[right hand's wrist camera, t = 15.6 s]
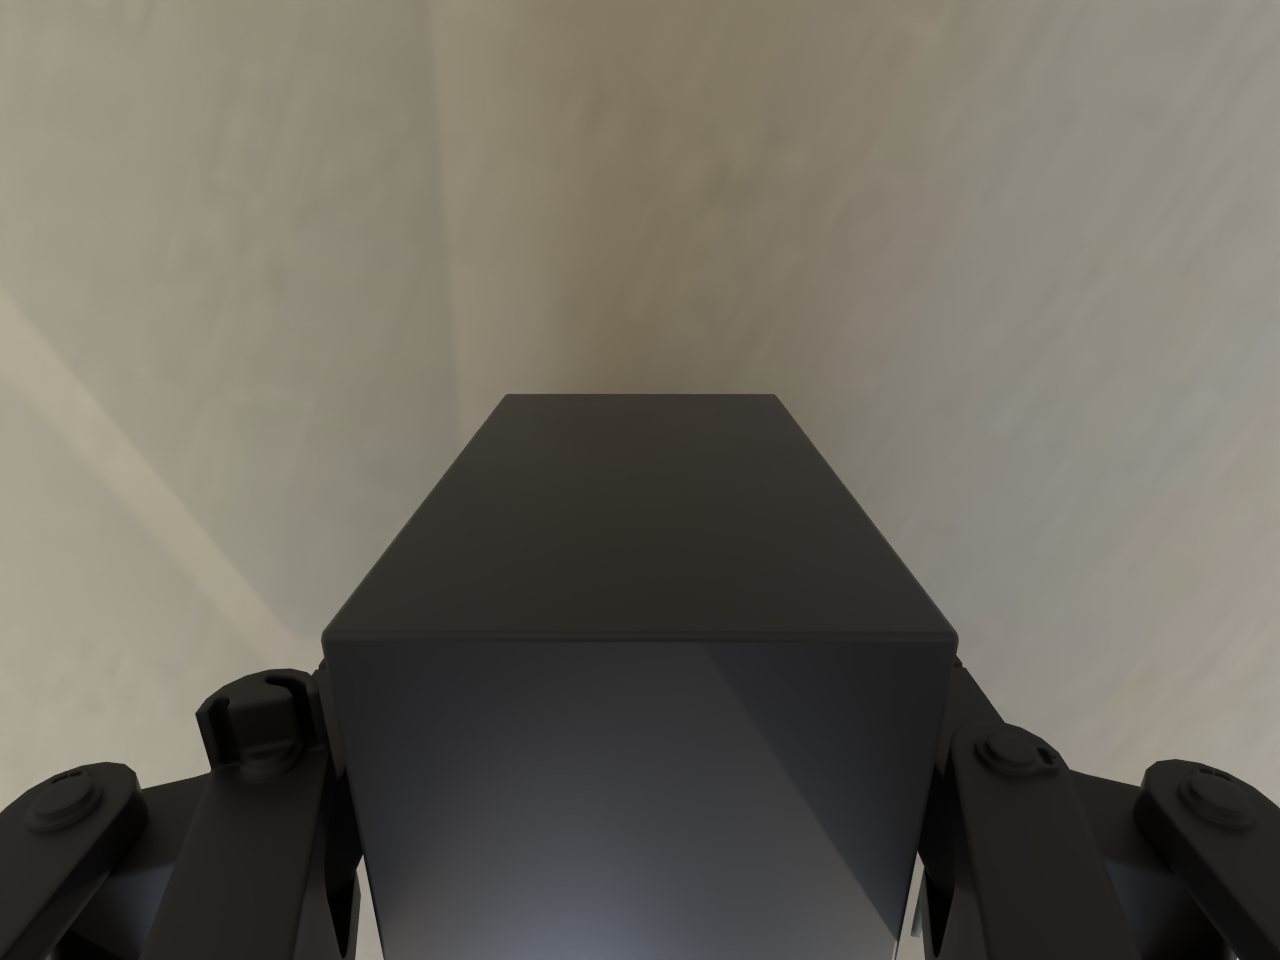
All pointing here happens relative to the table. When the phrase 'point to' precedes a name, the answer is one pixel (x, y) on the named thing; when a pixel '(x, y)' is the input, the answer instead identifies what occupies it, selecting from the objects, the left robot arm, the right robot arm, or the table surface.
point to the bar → (639, 695)
